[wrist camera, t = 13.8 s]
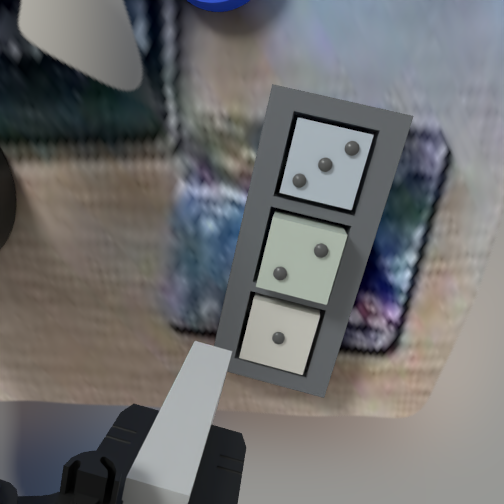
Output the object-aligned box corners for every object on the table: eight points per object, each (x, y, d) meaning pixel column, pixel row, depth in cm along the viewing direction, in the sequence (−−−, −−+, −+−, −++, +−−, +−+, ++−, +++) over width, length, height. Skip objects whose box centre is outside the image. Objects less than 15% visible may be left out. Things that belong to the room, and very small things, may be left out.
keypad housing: (216, 349, 37) (209, 366, 34) (275, 90, 31) (272, 84, 28) (322, 378, 36) (323, 397, 34) (402, 119, 30) (413, 116, 28)
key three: (281, 188, 33) (279, 192, 29) (298, 120, 31) (297, 117, 28) (346, 204, 32) (351, 210, 29) (366, 136, 31) (374, 134, 28)
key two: (260, 273, 33) (255, 287, 30) (275, 210, 32) (272, 217, 28) (324, 289, 33) (326, 305, 29) (342, 226, 31) (347, 235, 28)
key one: (244, 339, 36) (238, 359, 33) (258, 285, 35) (253, 299, 32) (302, 354, 36) (302, 376, 33) (318, 300, 35) (320, 316, 31)
